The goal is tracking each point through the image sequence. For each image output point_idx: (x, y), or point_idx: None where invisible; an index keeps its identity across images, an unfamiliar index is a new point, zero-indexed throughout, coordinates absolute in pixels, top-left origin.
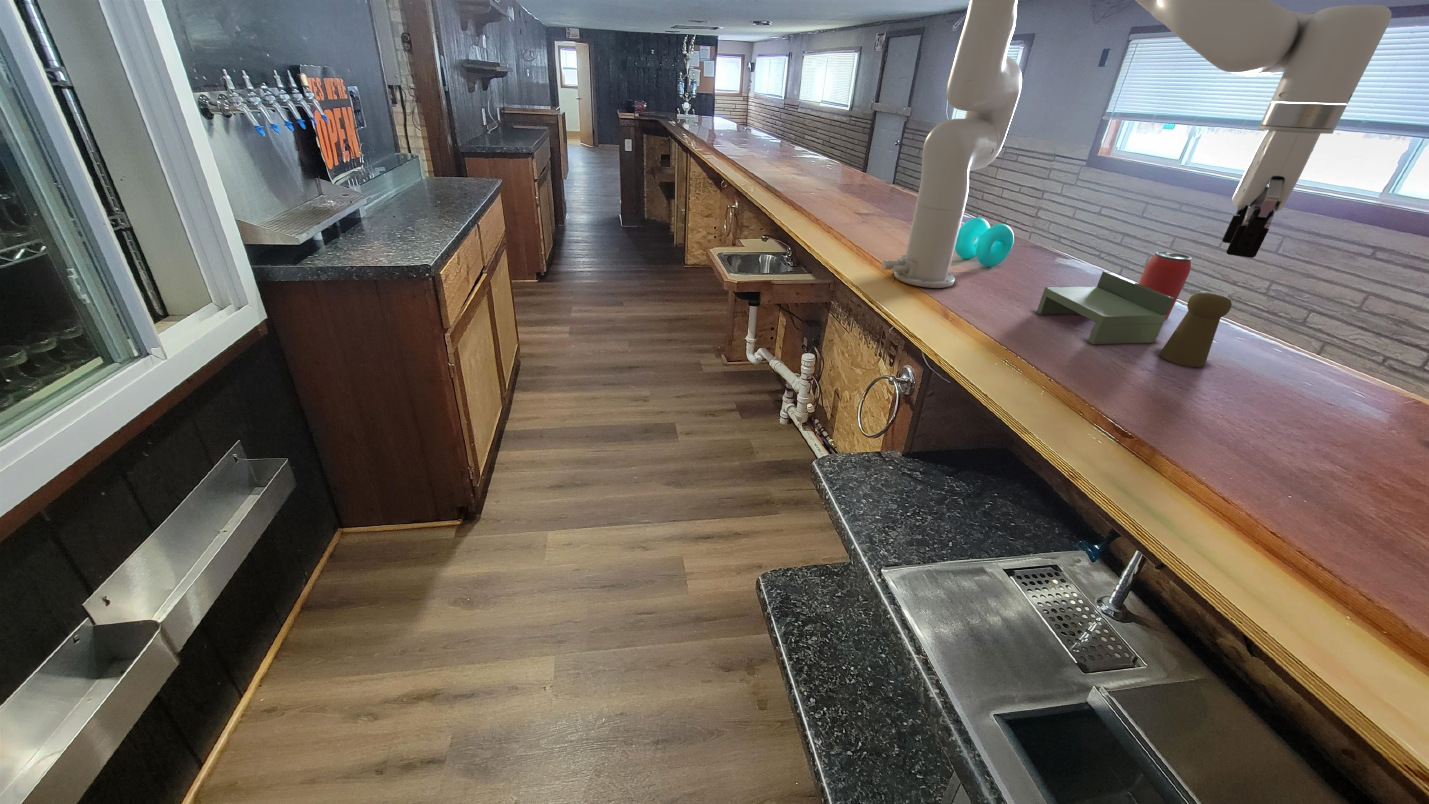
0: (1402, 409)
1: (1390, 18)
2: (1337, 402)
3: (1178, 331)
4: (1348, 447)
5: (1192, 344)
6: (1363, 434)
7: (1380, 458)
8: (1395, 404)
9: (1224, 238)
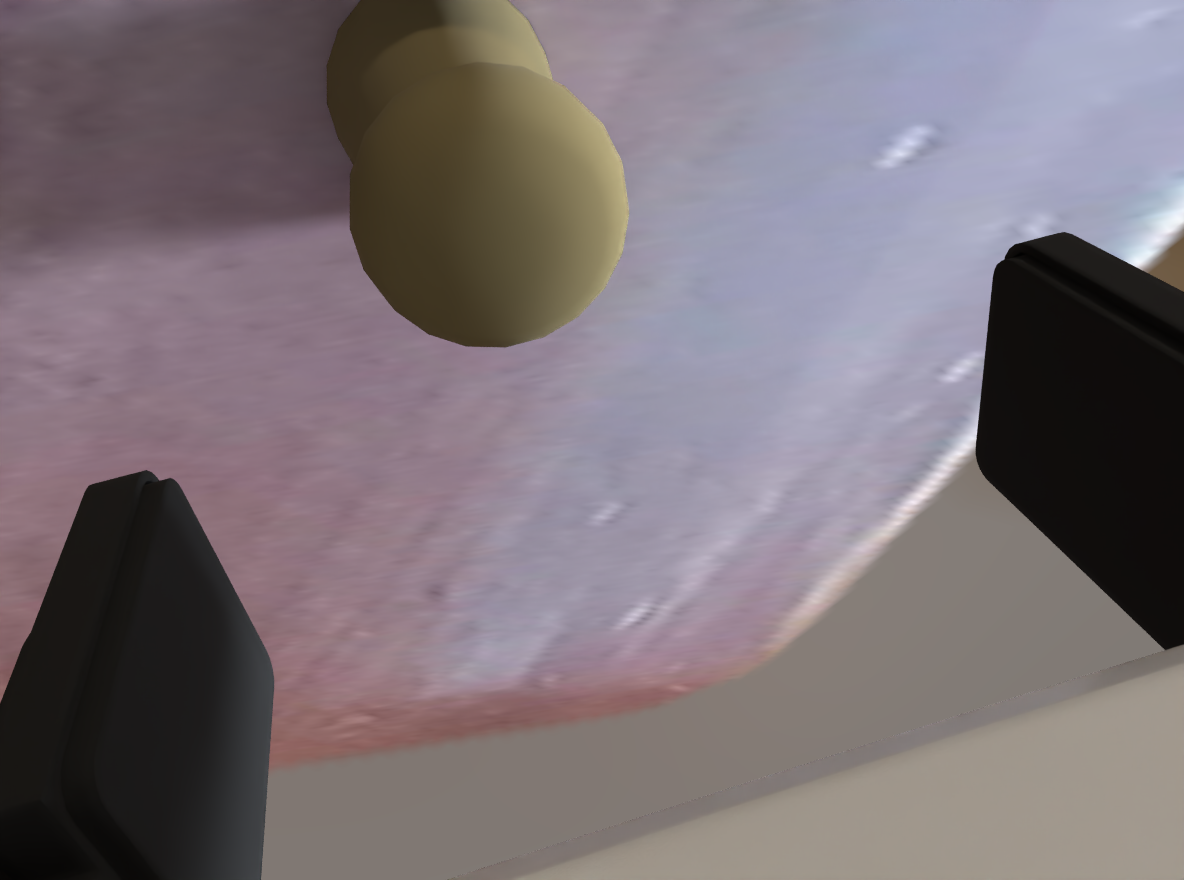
0: (600, 695)
1: None
2: (482, 599)
3: (384, 55)
4: None
5: (352, 156)
6: None
7: None
8: (632, 679)
9: (1023, 268)
